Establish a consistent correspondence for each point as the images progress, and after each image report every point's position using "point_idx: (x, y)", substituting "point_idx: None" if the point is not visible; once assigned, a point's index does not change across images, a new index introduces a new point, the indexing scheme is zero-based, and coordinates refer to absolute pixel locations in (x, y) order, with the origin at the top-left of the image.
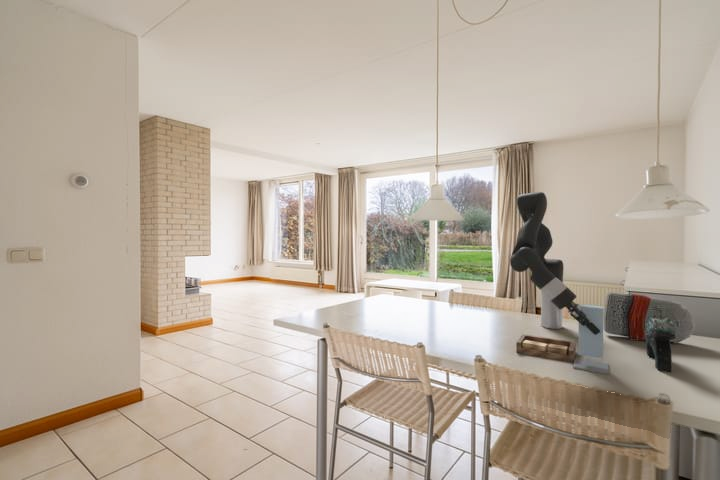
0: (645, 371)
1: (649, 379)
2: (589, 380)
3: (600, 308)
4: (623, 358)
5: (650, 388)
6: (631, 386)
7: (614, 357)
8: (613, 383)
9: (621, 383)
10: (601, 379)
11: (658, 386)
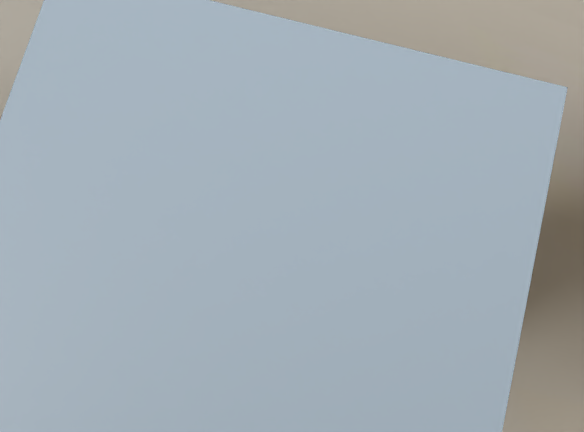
0: (258, 4)
1: (406, 33)
2: (575, 415)
3: (534, 205)
4: (11, 49)
5: (566, 82)
6: (577, 178)
7: (3, 102)
8: (568, 271)
9: (547, 221)
10: (522, 328)
11: (512, 27)
